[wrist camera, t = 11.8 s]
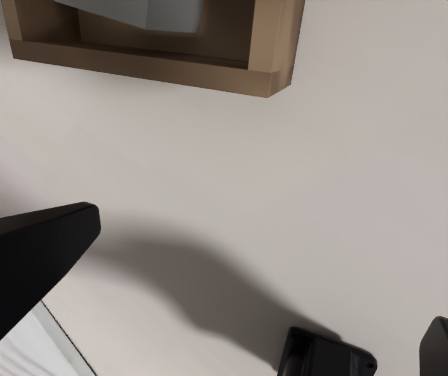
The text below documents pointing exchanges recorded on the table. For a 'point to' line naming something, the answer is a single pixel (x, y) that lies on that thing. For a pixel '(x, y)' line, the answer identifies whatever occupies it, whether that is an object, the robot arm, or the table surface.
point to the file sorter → (40, 349)
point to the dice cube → (147, 12)
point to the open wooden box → (167, 44)
